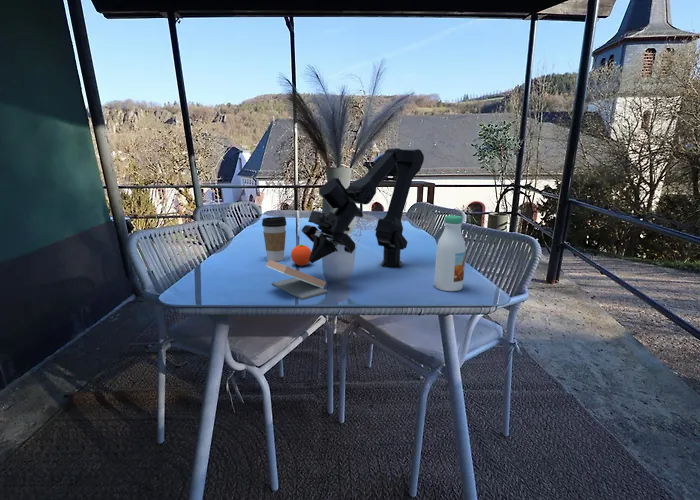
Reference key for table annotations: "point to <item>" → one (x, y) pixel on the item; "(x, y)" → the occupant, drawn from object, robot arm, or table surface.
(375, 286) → the table surface
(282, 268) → the tile
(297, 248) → the clementine
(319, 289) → the mat
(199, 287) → the table surface
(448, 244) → the milk bottle
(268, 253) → the coffee cup
